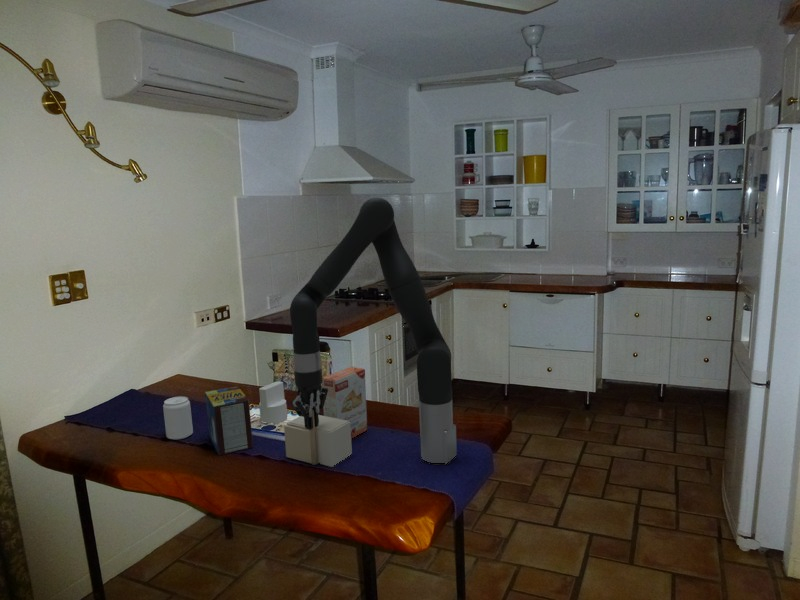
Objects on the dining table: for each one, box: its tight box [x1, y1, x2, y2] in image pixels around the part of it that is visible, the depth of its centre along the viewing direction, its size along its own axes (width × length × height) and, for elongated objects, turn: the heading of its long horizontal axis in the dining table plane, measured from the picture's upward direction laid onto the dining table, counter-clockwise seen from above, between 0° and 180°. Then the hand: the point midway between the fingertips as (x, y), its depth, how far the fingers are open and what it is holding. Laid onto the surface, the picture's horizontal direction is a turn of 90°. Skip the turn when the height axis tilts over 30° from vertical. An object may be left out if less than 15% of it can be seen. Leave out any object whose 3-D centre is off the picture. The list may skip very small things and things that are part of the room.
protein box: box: [204, 386, 254, 456], centre depth 184 cm, size 10×15×16 cm
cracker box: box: [321, 366, 368, 440], centre depth 184 cm, size 14×6×21 cm, turn 143°
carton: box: [286, 414, 353, 468], centre depth 173 cm, size 16×9×10 cm, turn 58°
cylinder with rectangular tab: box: [258, 380, 288, 424], centre depth 203 cm, size 9×9×12 cm
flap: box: [283, 409, 318, 466], centre depth 169 cm, size 11×2×16 cm, turn 58°
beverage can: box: [162, 396, 194, 440], centre depth 191 cm, size 8×8×12 cm
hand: (312, 427), depth 166 cm, fingers closed on flap
